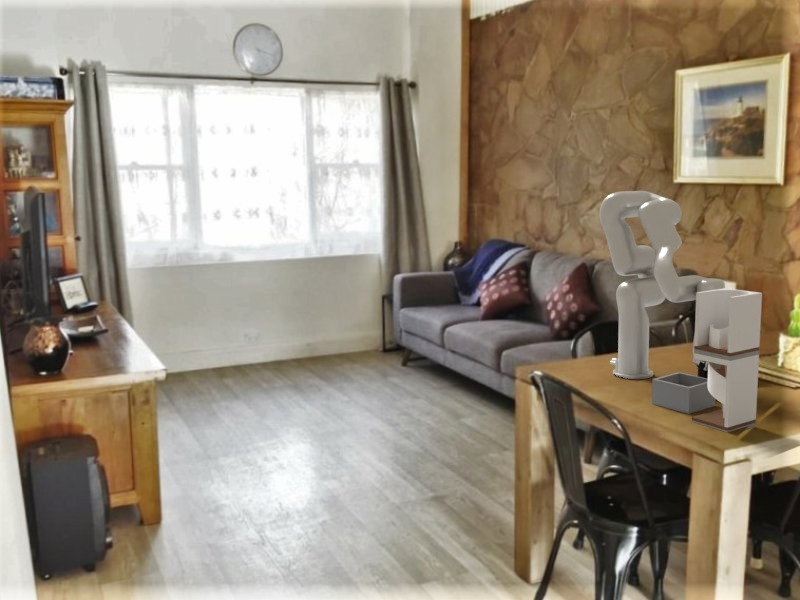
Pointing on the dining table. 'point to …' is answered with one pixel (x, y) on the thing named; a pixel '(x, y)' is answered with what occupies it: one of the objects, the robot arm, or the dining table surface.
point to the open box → (682, 393)
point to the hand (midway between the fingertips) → (707, 380)
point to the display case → (729, 354)
